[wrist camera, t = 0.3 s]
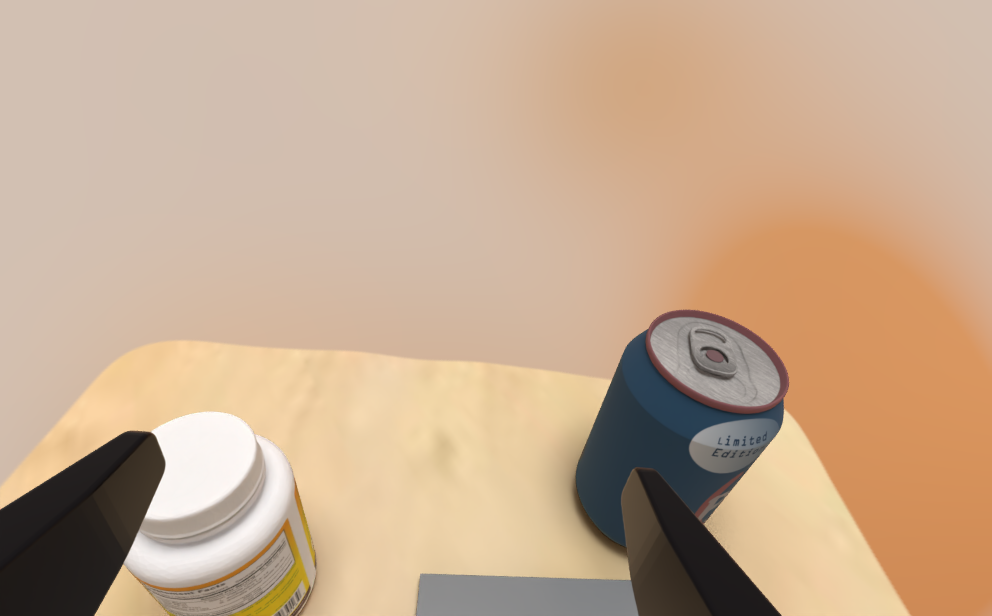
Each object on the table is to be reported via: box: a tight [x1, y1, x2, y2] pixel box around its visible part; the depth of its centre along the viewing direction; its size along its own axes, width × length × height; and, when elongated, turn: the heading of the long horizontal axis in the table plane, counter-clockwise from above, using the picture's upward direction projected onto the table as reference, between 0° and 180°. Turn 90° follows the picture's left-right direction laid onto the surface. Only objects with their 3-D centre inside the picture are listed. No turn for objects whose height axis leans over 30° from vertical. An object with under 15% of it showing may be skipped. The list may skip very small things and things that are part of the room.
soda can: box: [576, 310, 789, 548], centre depth 23 cm, size 7×7×12 cm
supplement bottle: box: [123, 412, 316, 616], centre depth 18 cm, size 6×6×10 cm
